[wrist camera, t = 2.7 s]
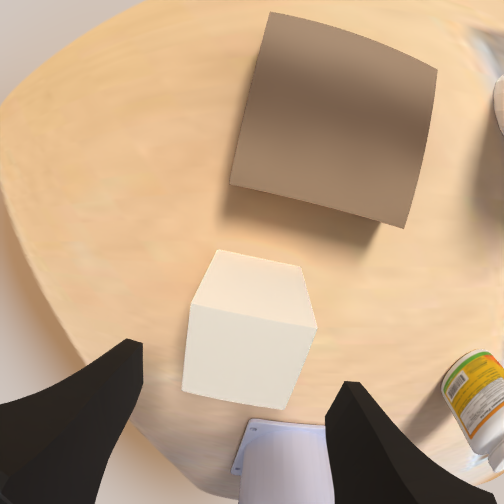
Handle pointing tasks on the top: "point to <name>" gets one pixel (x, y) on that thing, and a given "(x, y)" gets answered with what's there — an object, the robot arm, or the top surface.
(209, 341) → the cream block
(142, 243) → the top surface
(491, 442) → the supplement bottle
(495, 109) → the white cup
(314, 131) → the walnut block
